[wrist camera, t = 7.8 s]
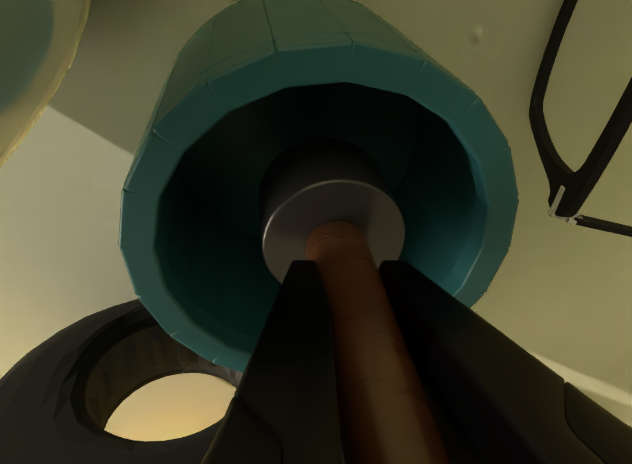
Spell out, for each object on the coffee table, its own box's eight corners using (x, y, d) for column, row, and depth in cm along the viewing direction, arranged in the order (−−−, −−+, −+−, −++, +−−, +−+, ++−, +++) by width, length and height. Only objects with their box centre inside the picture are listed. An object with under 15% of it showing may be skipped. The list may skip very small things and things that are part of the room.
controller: (-4, 275, 15) (-302, 740, 7) (395, 261, 17) (551, 616, 8) (33, 373, 17) (-155, 807, 9) (379, 352, 19) (489, 699, 11)
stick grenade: (231, 192, 11) (224, 522, 5) (330, 109, 10) (453, 384, 4) (313, 264, 12) (379, 589, 6) (405, 196, 12) (573, 493, 6)
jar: (101, 125, 13) (26, 246, 8) (314, -86, 11) (369, -77, 6) (285, 279, 16) (304, 423, 12) (471, 140, 14) (577, 249, 10)
